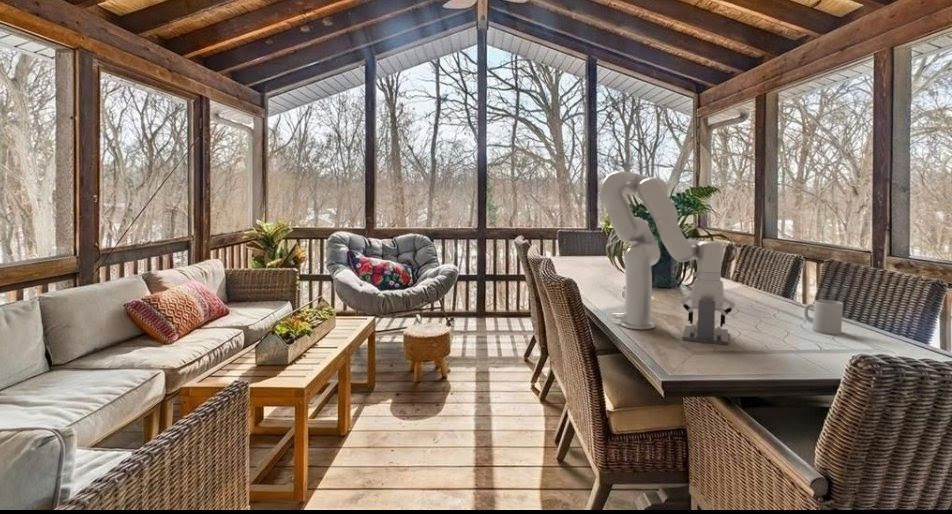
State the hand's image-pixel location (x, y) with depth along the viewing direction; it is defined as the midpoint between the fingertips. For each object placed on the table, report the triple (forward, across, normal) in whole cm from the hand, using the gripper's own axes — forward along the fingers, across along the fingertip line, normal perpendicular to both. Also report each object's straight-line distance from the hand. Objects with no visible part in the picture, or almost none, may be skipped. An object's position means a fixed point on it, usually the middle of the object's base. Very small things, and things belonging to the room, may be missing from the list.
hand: (706, 324), depth 175 cm
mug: (+5, +38, +27) cm, 47 cm away
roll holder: (+4, 0, 0) cm, 4 cm away
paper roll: (+3, 0, 0) cm, 3 cm away
